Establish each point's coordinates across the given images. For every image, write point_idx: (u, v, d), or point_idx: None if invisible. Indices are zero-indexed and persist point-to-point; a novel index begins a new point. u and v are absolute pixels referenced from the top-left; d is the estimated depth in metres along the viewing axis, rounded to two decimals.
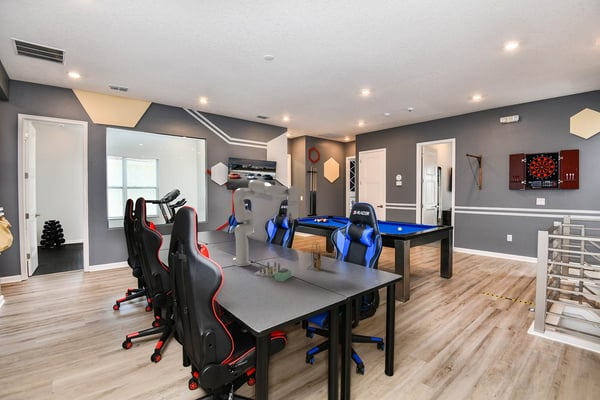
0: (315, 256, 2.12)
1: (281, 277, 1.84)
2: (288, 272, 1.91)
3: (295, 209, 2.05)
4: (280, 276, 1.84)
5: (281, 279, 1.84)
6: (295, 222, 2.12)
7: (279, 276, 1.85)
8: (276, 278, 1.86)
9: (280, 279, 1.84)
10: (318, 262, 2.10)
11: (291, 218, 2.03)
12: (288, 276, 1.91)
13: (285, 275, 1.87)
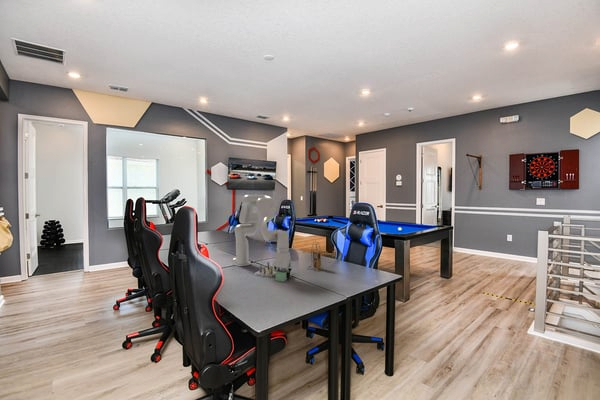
0: (315, 256, 2.12)
1: (282, 277, 1.84)
2: None
3: None
4: (282, 276, 1.84)
5: (282, 279, 1.84)
6: None
7: (280, 275, 1.84)
8: (277, 278, 1.85)
9: (281, 279, 1.84)
10: (318, 262, 2.10)
11: (289, 266, 1.89)
12: None
13: (286, 275, 1.87)
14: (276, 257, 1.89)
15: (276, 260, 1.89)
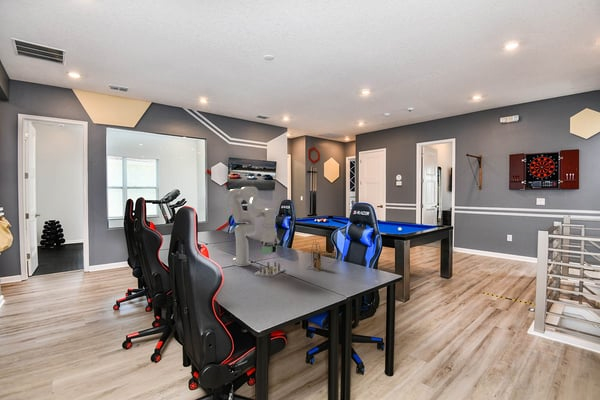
0: (315, 256, 2.12)
1: (268, 250, 1.97)
2: None
3: None
4: (268, 249, 1.97)
5: (268, 252, 1.97)
6: None
7: (266, 249, 1.98)
8: (263, 251, 1.98)
9: (267, 252, 1.97)
10: (318, 262, 2.10)
11: (275, 241, 2.03)
12: None
13: (272, 249, 2.00)
14: (263, 232, 2.02)
15: (263, 235, 2.02)
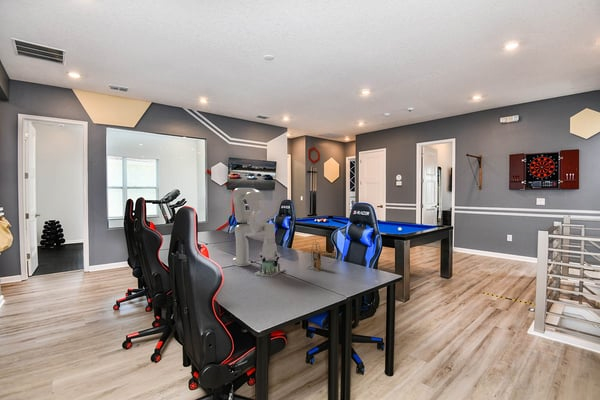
0: (315, 256, 2.12)
1: (268, 267, 1.97)
2: None
3: None
4: (267, 266, 1.98)
5: (268, 268, 1.97)
6: (264, 260, 2.05)
7: (266, 265, 1.98)
8: None
9: (267, 268, 1.98)
10: (318, 262, 2.10)
11: (275, 255, 2.03)
12: (274, 266, 2.04)
13: (272, 265, 2.00)
14: (263, 248, 2.03)
15: (263, 251, 2.03)
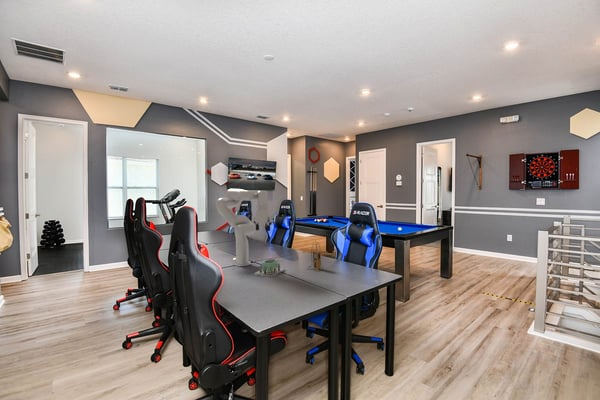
0: (315, 256, 2.12)
1: (268, 267, 1.97)
2: (274, 262, 2.04)
3: None
4: (267, 266, 1.98)
5: (268, 268, 1.97)
6: (257, 226, 2.15)
7: (266, 265, 1.98)
8: None
9: (267, 268, 1.98)
10: (318, 262, 2.10)
11: (268, 221, 2.13)
12: (274, 266, 2.04)
13: (272, 265, 2.00)
14: (256, 213, 2.13)
15: (256, 216, 2.13)
